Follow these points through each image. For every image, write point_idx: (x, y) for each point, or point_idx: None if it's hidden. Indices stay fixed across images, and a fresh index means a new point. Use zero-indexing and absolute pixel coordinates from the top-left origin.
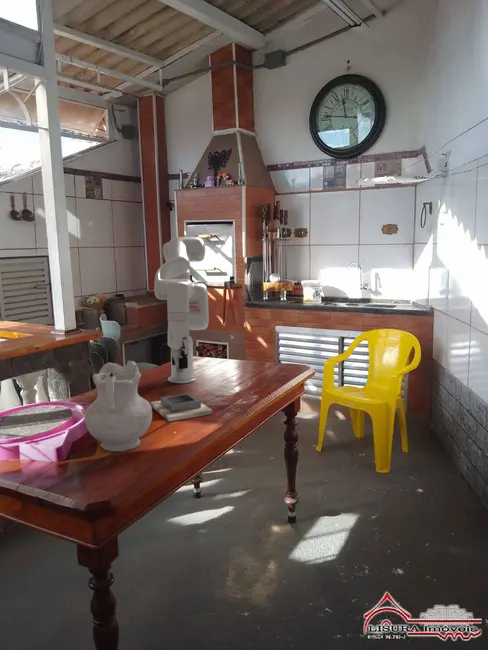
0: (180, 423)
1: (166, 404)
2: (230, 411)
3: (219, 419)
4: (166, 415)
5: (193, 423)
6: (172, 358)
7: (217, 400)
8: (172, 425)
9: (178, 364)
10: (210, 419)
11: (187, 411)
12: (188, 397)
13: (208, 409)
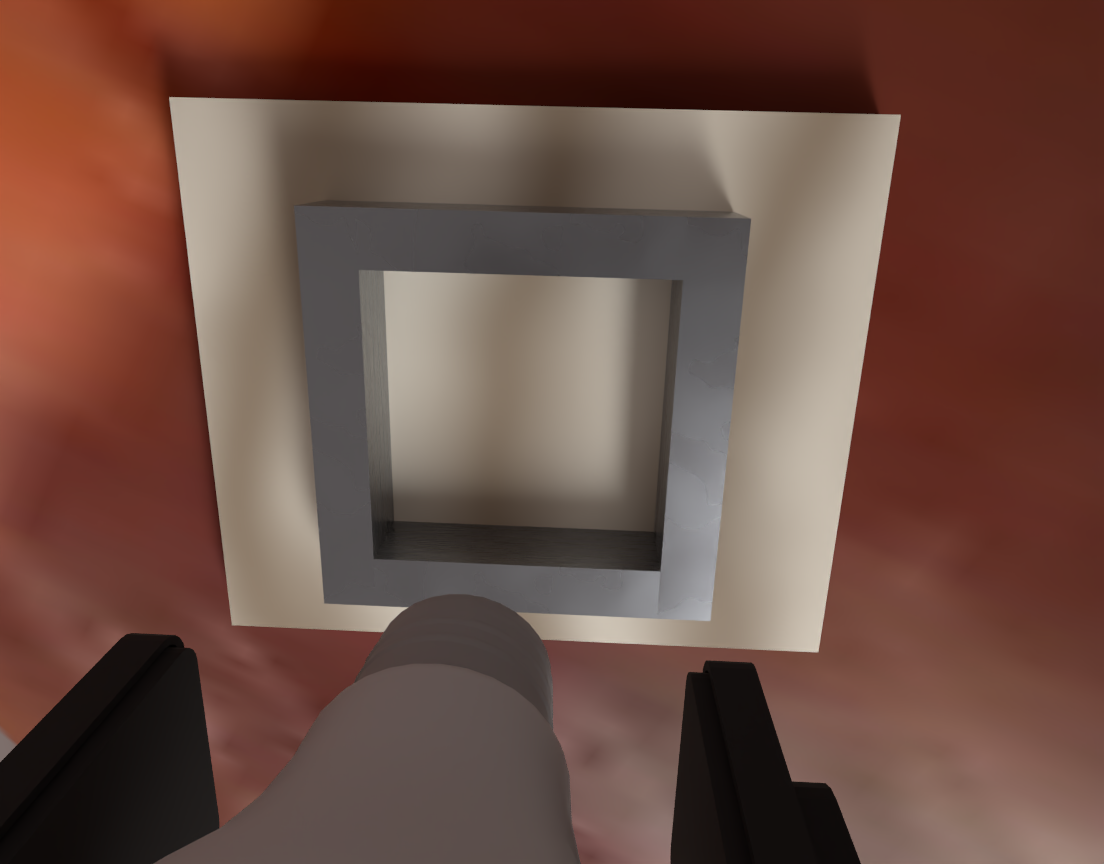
0: (88, 196)
1: (506, 209)
2: (248, 761)
3: (68, 585)
4: (261, 99)
5: (40, 321)
6: (739, 825)
7: (620, 815)
8: (53, 84)
9: (303, 743)
10: (98, 517)
11: (285, 384)
12: (595, 558)
13: (256, 600)
